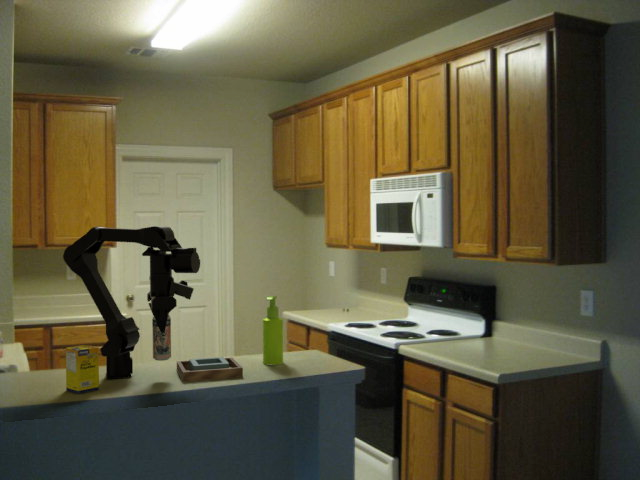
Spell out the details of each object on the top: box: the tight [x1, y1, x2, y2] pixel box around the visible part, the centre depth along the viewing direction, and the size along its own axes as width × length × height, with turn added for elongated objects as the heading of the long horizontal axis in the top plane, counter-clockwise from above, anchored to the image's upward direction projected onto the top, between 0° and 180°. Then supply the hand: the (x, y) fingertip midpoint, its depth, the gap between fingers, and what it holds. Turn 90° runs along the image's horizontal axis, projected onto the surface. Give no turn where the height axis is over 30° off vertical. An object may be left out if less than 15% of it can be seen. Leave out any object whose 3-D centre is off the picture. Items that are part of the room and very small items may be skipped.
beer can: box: [151, 313, 172, 362], centre depth 184 cm, size 5×5×12 cm
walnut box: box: [176, 356, 244, 383], centre depth 190 cm, size 16×15×2 cm
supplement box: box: [65, 344, 100, 395], centre depth 172 cm, size 6×6×11 cm
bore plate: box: [189, 356, 229, 371], centre depth 190 cm, size 10×10×3 cm
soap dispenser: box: [262, 295, 284, 366], centre depth 203 cm, size 6×7×20 cm
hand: (161, 330), depth 184 cm, fingers closed on beer can, 5 cm apart
